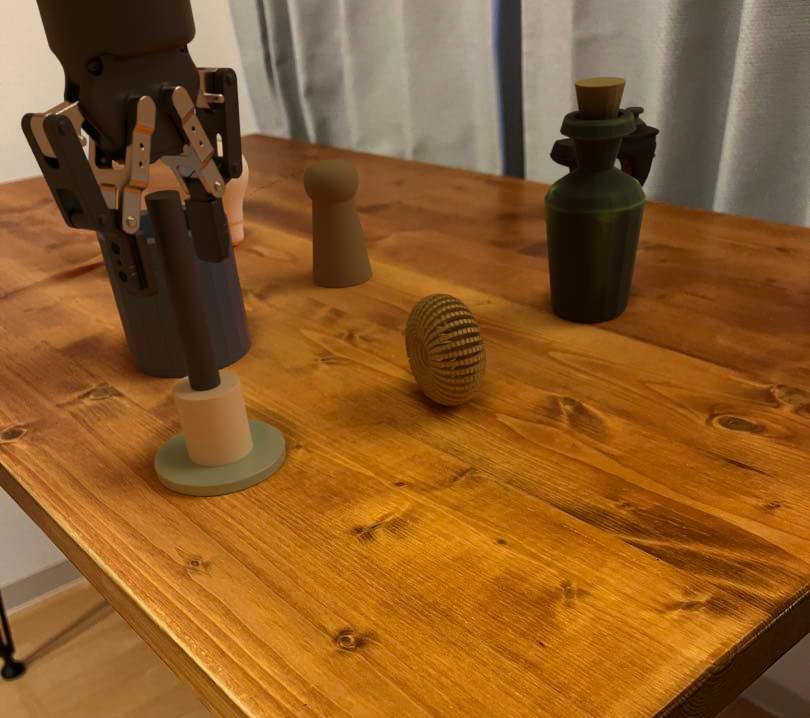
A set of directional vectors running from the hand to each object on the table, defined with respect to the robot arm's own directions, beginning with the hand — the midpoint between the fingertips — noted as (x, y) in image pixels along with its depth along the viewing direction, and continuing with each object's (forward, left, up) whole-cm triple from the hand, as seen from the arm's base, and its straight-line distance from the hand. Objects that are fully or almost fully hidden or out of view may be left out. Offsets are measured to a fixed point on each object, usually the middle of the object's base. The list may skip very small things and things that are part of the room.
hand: (179, 276), depth 53 cm
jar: (-15, +13, -13) cm, 24 cm away
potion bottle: (+13, +34, -13) cm, 39 cm away
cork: (-13, +33, -13) cm, 38 cm away
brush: (0, 0, -12) cm, 12 cm away
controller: (+3, +62, -13) cm, 63 cm away
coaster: (0, 0, -13) cm, 13 cm away
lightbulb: (-31, +37, -13) cm, 50 cm away
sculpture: (+10, +14, -13) cm, 22 cm away
